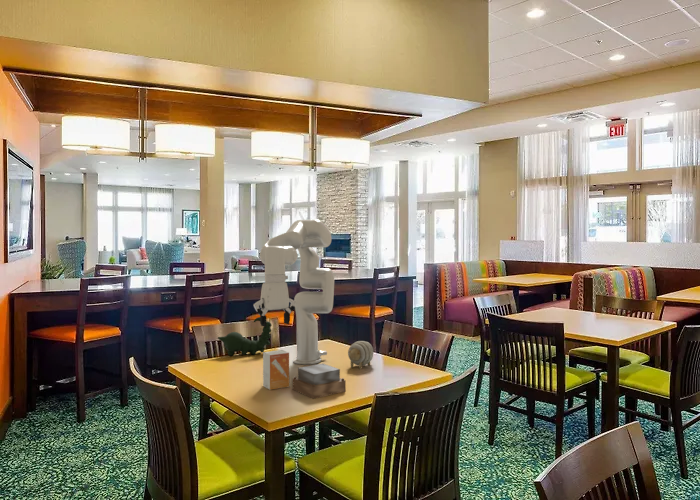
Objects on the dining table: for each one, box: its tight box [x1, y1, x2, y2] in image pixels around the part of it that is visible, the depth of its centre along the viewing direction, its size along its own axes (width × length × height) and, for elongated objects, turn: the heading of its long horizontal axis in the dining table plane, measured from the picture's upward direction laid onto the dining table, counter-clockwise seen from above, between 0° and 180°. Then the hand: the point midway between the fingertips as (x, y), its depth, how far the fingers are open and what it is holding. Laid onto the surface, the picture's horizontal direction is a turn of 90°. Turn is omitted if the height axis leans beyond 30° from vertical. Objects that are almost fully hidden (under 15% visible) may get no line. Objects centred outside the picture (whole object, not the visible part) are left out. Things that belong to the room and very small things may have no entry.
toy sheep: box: [347, 340, 374, 370], centre depth 223 cm, size 11×17×11 cm, turn 153°
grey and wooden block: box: [292, 363, 347, 400], centre depth 188 cm, size 14×14×8 cm
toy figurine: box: [217, 316, 273, 356], centre depth 247 cm, size 9×19×25 cm
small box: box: [262, 349, 290, 391], centre depth 193 cm, size 8×6×13 cm
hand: (275, 324), depth 192 cm, fingers open, 9 cm apart
